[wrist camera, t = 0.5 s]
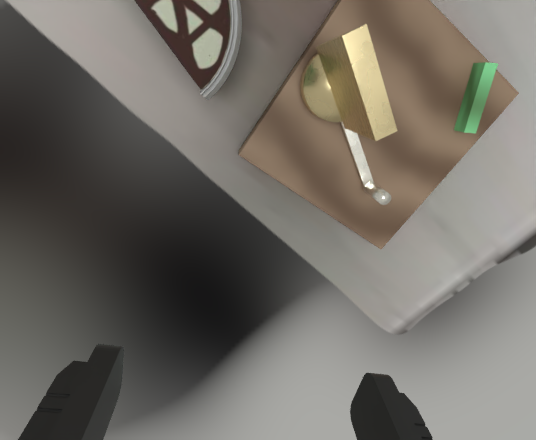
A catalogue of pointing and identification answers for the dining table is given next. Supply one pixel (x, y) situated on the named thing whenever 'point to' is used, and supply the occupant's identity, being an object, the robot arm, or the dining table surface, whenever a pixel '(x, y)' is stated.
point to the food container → (199, 36)
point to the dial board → (404, 112)
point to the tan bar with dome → (350, 96)
